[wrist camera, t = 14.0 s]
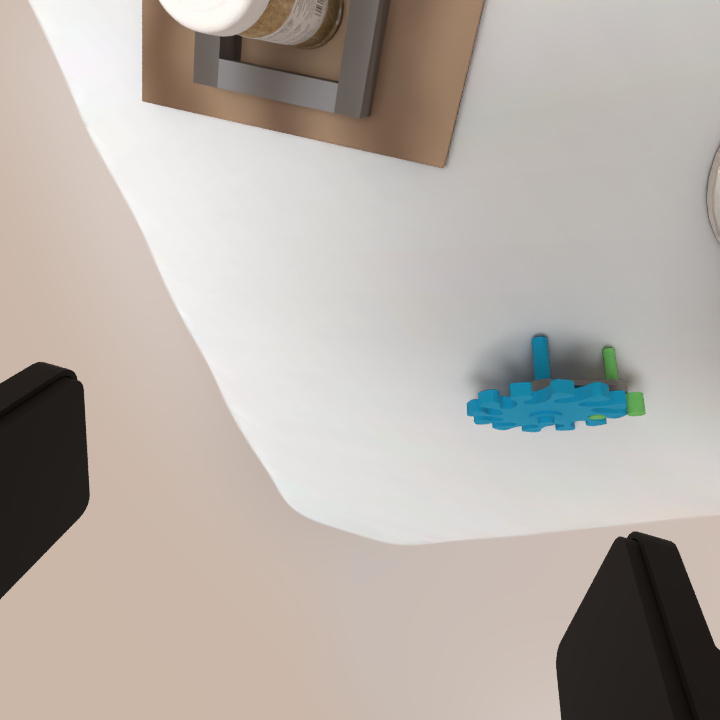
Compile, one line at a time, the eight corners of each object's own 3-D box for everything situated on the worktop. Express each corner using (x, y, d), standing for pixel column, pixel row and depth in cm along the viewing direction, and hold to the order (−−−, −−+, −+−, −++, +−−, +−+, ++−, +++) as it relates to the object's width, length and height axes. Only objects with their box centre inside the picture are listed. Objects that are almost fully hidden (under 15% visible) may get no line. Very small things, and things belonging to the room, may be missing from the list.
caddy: (512, -114, 29) (513, -144, 25) (444, 165, 36) (438, 174, 32) (154, -173, 31) (108, -207, 28) (152, 100, 38) (114, 102, 34)
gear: (461, 438, 42) (476, 402, 33) (459, 363, 44) (473, 308, 35) (616, 441, 41) (678, 405, 32) (606, 364, 43) (662, 308, 34)
